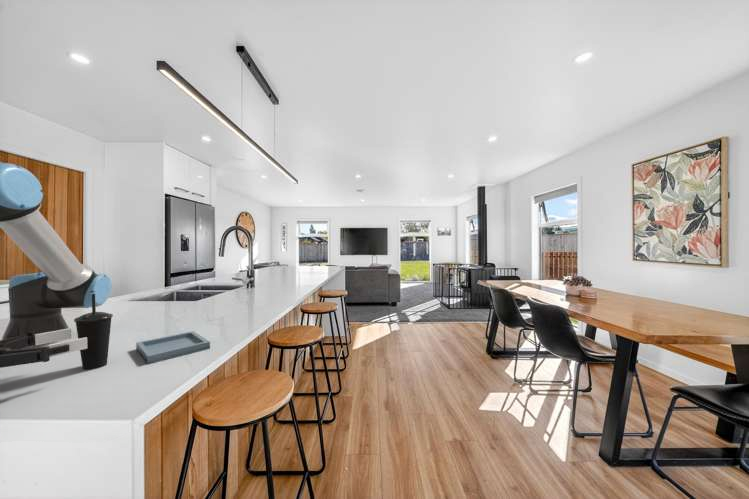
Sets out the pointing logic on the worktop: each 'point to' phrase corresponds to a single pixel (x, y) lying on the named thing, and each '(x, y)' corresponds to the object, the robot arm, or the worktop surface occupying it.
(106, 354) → the drinking cup
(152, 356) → the slate tray
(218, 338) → the worktop surface
